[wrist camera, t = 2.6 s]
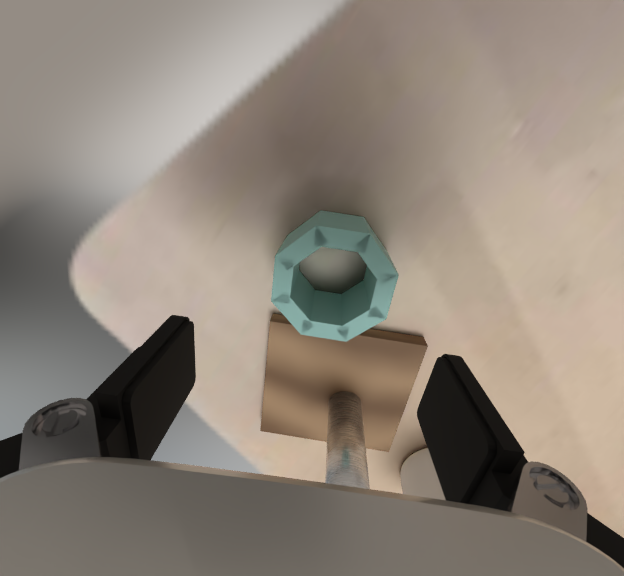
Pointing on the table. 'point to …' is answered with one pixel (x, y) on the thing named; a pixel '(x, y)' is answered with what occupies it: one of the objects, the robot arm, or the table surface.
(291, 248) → the ring
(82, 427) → the robot arm
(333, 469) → the grey metal peg
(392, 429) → the board
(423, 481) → the pill bottle
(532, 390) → the table surface
